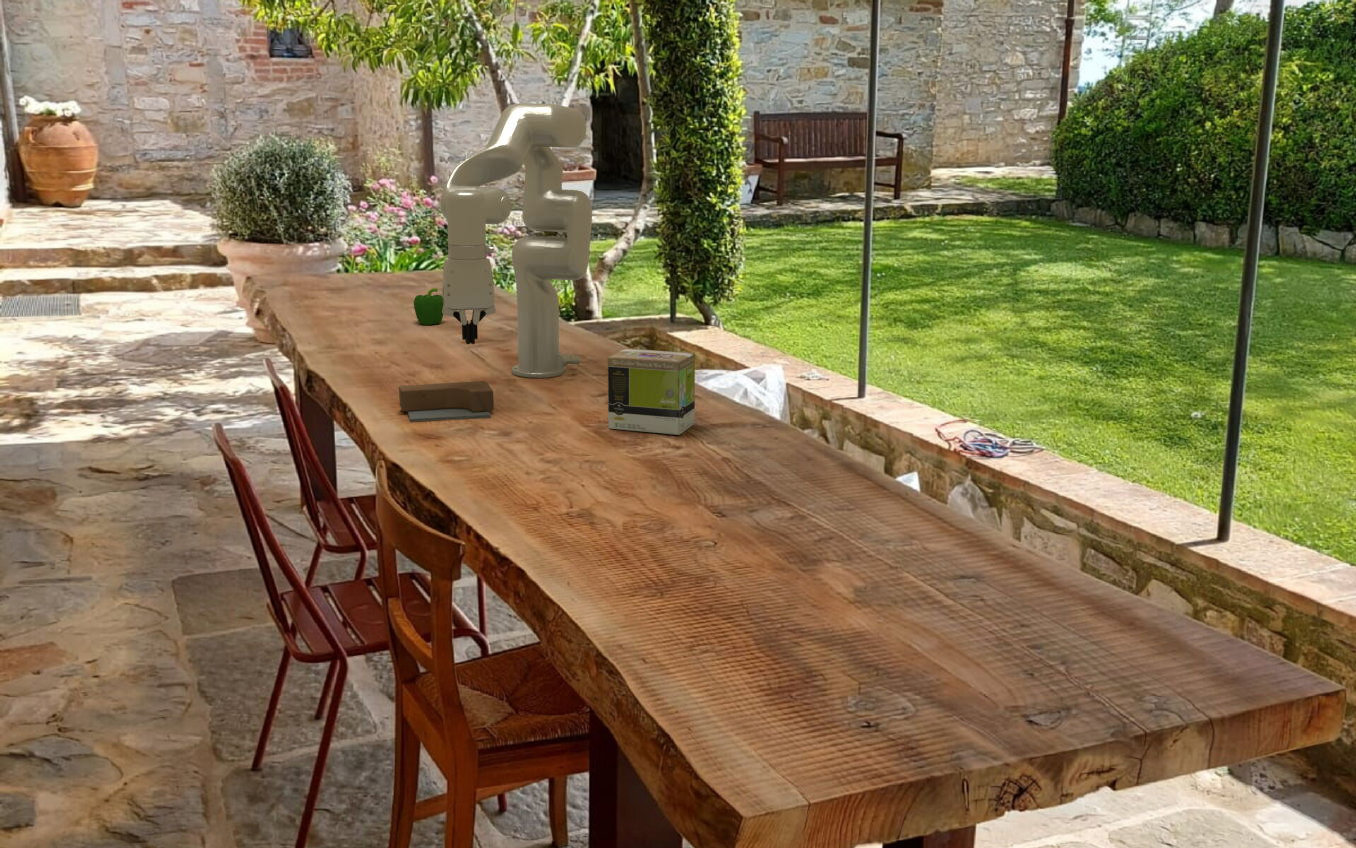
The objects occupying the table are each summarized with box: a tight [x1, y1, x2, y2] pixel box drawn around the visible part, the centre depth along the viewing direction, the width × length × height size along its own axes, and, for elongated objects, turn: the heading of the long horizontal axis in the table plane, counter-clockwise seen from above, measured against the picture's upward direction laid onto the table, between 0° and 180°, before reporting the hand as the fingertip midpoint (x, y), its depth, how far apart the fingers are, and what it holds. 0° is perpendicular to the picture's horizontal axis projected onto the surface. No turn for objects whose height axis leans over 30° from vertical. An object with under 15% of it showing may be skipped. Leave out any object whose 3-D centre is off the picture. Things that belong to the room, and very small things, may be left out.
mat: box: [407, 408, 492, 423], centre depth 265 cm, size 16×14×1 cm
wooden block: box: [398, 380, 495, 412], centre depth 264 cm, size 9×4×18 cm
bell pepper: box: [413, 287, 444, 326], centre depth 358 cm, size 8×8×10 cm
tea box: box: [607, 348, 696, 436], centre depth 253 cm, size 15×10×15 cm
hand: (470, 342), depth 263 cm, fingers closed
